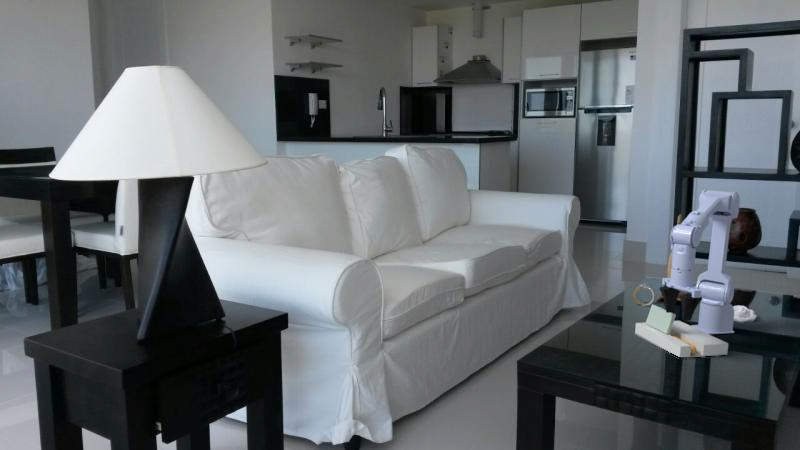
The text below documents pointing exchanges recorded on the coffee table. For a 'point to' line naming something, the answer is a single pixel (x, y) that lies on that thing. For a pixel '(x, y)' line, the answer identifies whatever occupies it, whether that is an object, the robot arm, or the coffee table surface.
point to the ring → (641, 288)
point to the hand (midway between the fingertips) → (678, 316)
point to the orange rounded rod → (693, 348)
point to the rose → (743, 314)
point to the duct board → (697, 338)
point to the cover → (660, 319)
